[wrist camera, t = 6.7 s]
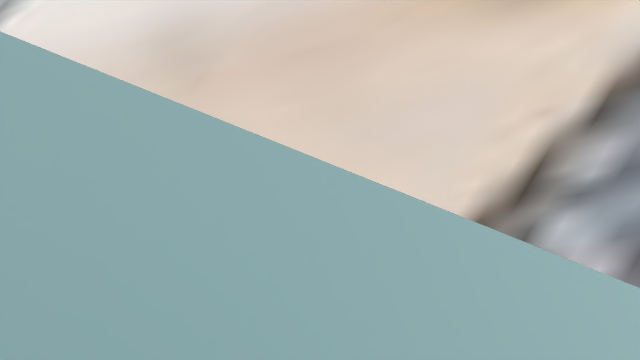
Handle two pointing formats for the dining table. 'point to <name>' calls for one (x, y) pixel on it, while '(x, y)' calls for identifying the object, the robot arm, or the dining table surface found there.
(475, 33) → the dining table surface
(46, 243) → the pale teal box
